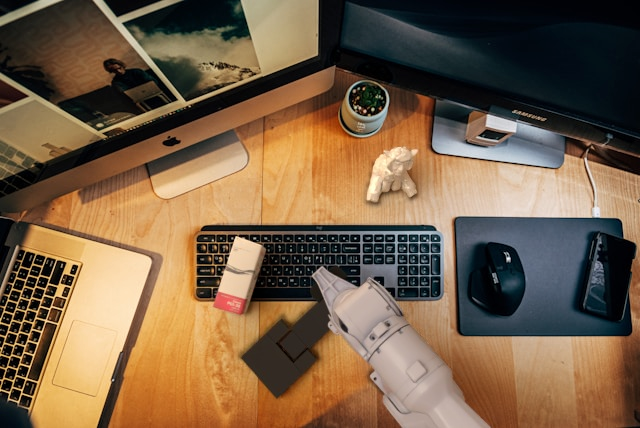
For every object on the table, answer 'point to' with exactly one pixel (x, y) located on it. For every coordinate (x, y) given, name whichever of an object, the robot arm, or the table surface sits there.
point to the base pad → (276, 361)
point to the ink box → (239, 276)
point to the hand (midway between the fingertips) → (346, 306)
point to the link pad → (307, 330)
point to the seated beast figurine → (392, 173)
